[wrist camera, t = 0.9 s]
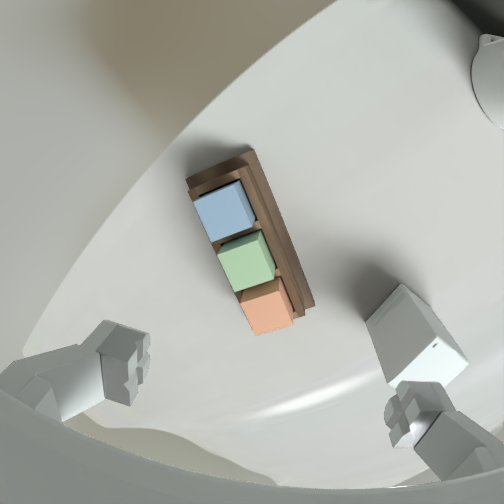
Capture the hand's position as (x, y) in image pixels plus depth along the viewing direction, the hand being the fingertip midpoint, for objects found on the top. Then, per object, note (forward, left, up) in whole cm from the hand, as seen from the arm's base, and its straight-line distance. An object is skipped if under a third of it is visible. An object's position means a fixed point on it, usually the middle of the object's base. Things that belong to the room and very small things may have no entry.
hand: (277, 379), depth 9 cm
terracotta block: (+7, +11, -31) cm, 34 cm away
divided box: (+7, +5, -36) cm, 37 cm away
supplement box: (-11, +25, -36) cm, 45 cm away
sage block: (+7, +5, -31) cm, 32 cm away
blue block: (+7, -2, -31) cm, 32 cm away
